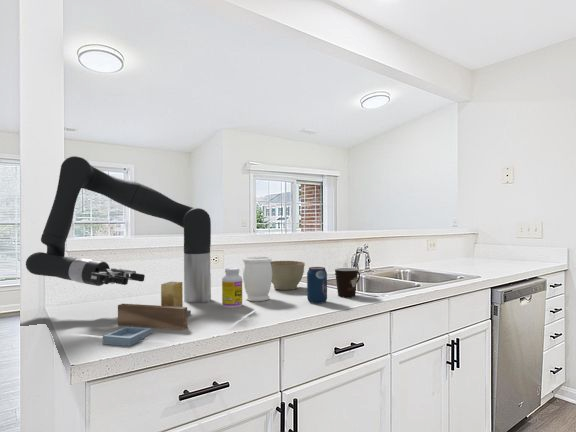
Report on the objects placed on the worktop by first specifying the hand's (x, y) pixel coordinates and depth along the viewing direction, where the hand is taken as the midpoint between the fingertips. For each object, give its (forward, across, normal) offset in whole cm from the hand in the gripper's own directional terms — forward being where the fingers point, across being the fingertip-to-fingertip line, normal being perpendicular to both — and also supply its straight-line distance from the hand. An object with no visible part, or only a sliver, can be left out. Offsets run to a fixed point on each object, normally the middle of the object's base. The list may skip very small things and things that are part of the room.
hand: (135, 279), depth 120 cm
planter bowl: (+35, +56, +5) cm, 66 cm away
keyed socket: (+12, -20, +11) cm, 26 cm away
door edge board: (+13, -10, +10) cm, 19 cm away
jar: (+30, +32, +6) cm, 44 cm away
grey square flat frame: (+13, 0, +10) cm, 17 cm away
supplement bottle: (+25, +18, +8) cm, 32 cm away
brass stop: (+13, 0, +9) cm, 16 cm away
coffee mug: (+62, +44, +2) cm, 76 cm away
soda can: (+52, +31, +4) cm, 60 cm away
